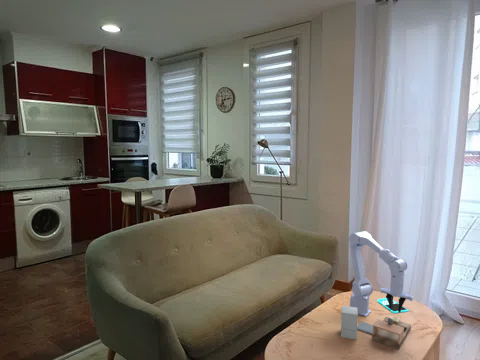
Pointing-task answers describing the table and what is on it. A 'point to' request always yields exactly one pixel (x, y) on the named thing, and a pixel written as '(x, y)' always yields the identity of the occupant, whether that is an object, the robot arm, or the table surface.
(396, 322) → the birch block
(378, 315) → the table surface
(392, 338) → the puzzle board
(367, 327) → the slate mat
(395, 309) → the handheld game console
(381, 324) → the slide cover
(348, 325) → the supplement box
